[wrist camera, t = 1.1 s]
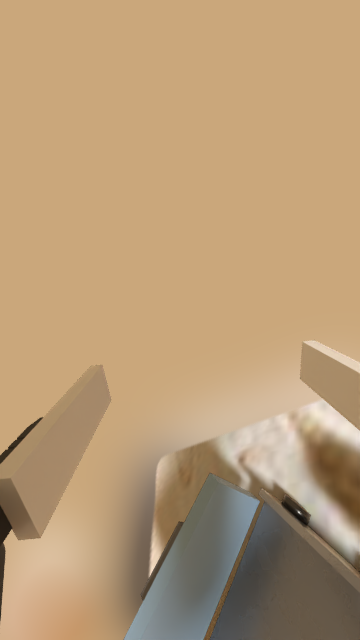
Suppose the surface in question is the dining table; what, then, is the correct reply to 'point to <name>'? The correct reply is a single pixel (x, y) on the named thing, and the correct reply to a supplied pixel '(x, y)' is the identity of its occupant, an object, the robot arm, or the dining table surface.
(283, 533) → the cart bed
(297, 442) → the dining table surface
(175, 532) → the panel
